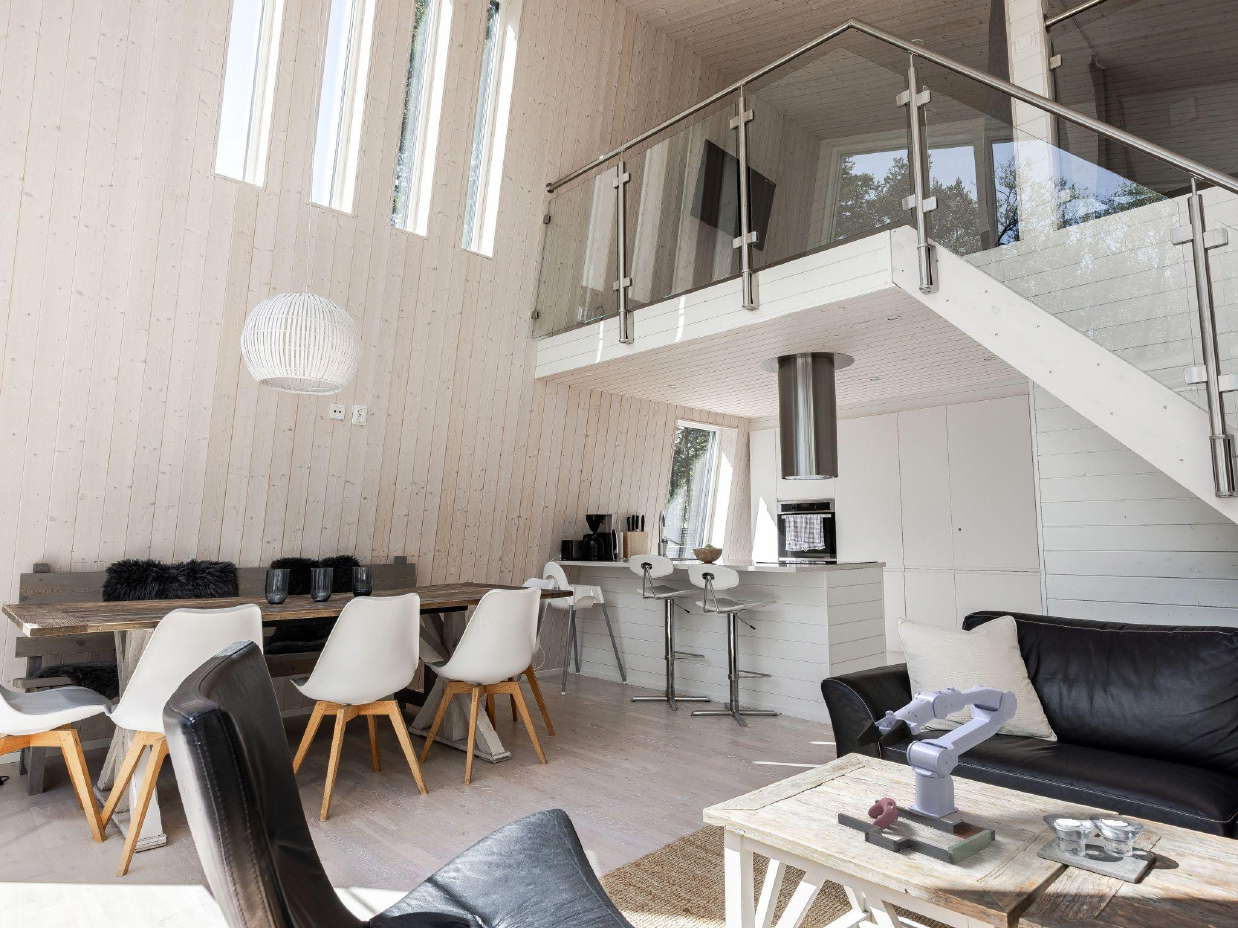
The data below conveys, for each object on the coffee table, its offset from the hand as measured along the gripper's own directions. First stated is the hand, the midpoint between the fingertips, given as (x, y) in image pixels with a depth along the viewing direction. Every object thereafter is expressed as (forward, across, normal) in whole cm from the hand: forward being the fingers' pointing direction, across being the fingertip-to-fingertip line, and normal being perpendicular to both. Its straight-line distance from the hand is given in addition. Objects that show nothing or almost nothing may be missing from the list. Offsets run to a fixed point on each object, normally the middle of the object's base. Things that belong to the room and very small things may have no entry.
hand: (870, 742), depth 177 cm
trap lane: (+1, +3, +20) cm, 21 cm away
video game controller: (+2, -4, +19) cm, 19 cm away
